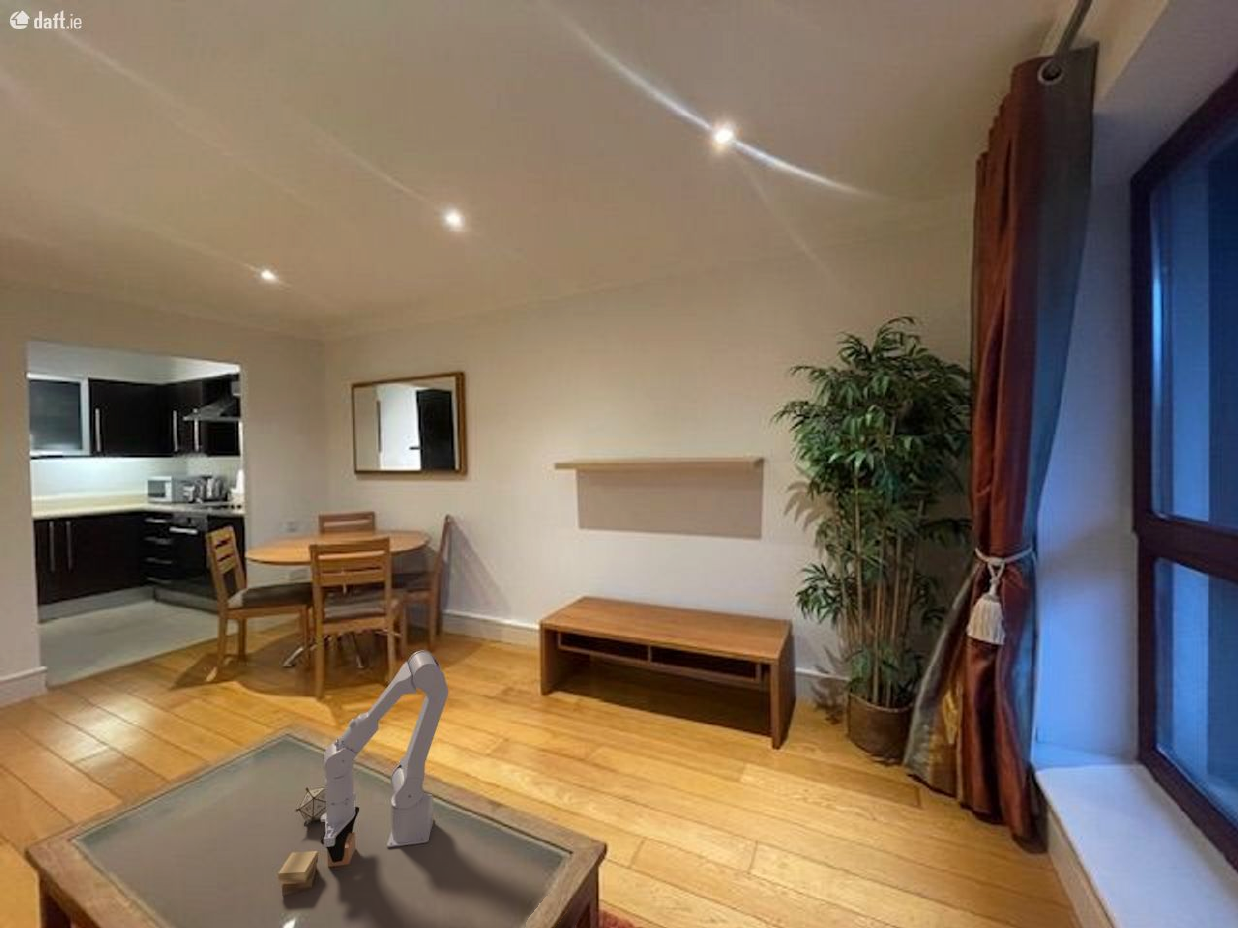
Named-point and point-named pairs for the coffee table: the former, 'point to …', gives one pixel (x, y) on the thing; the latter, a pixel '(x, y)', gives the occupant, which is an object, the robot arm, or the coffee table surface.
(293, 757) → the coffee table surface
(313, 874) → the walnut slab
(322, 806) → the game die
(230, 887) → the coffee table surface
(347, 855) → the terracotta block
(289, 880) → the oak slab
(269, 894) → the coffee table surface
